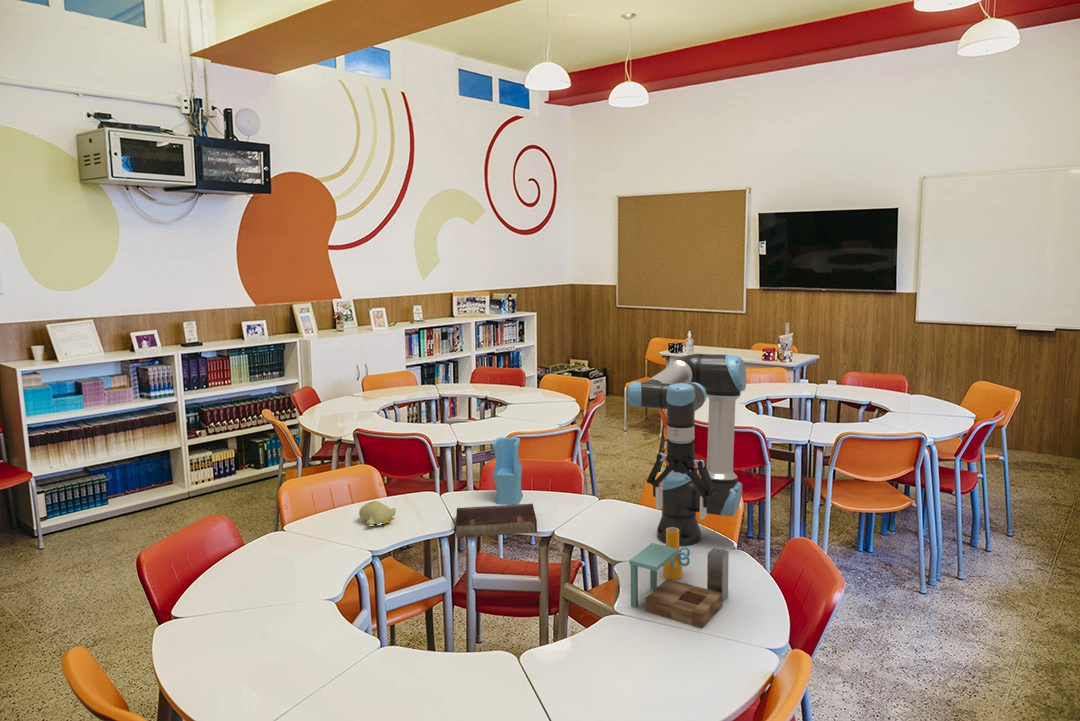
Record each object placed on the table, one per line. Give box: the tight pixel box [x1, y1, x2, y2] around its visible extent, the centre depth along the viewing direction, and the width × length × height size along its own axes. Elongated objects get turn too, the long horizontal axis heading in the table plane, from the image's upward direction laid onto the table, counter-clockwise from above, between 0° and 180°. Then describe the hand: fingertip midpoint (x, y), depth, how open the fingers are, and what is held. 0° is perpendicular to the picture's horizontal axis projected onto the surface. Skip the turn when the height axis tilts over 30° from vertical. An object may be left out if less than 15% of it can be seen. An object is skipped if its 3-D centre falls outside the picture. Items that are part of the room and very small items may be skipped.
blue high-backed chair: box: [492, 436, 524, 505], centre depth 292 cm, size 10×10×25 cm
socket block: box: [644, 578, 723, 629], centre depth 204 cm, size 14×17×4 cm
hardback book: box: [455, 503, 538, 539], centre depth 268 cm, size 29×19×5 cm, turn 95°
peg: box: [706, 547, 730, 604], centre depth 208 cm, size 4×4×14 cm
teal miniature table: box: [628, 542, 678, 608], centre depth 208 cm, size 14×8×14 cm, turn 144°
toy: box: [358, 500, 397, 527], centre depth 274 cm, size 15×9×15 cm
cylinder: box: [662, 527, 691, 581], centre depth 223 cm, size 12×10×15 cm
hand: (680, 512), depth 203 cm, fingers open, 13 cm apart
